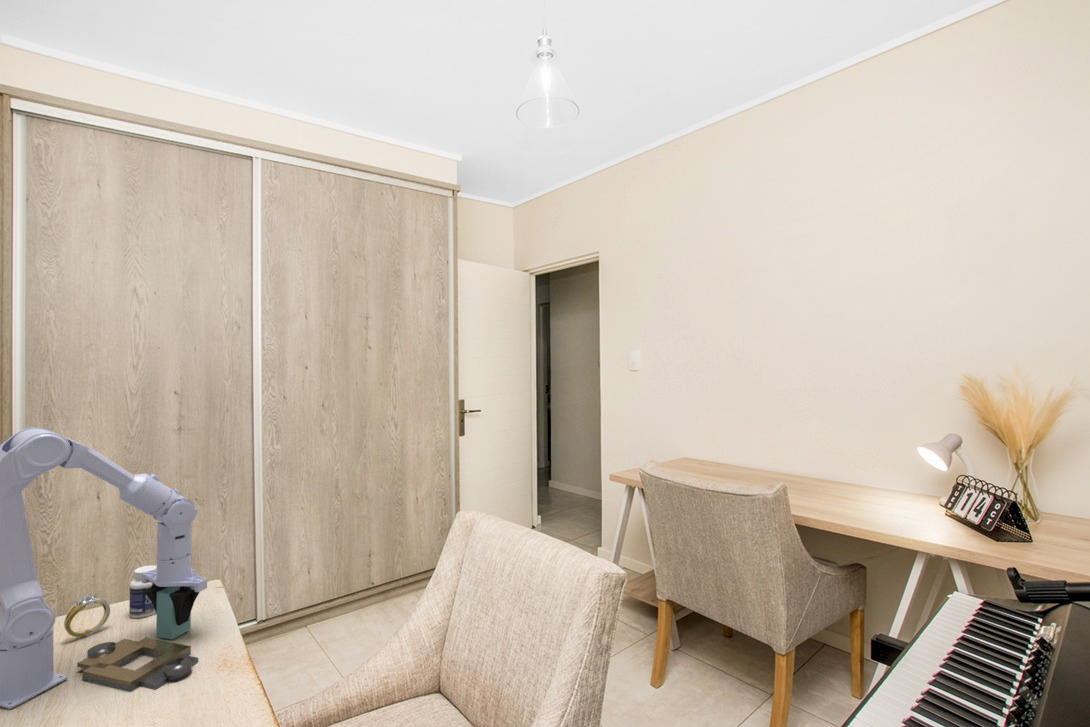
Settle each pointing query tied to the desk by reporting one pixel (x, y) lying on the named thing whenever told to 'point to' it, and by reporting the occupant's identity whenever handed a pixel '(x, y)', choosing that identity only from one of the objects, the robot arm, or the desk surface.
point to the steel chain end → (168, 673)
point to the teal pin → (168, 616)
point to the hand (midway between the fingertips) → (173, 621)
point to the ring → (73, 611)
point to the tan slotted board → (111, 654)
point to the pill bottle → (140, 594)
